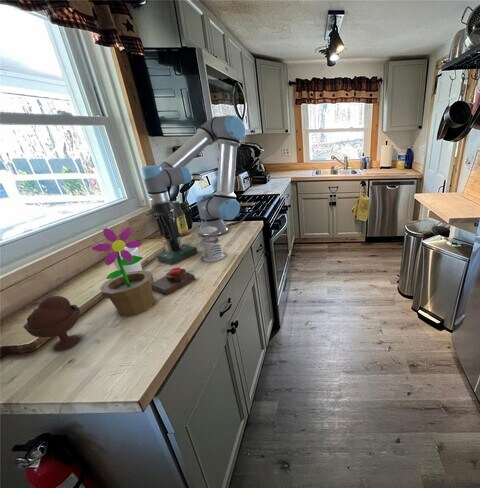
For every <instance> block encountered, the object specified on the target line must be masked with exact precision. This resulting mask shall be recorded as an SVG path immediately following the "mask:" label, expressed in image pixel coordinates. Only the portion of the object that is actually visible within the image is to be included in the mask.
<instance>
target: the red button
mask: <svg viewBox="0 0 480 488" xmlns="http://www.w3.org/2000/svg"><path fill="white" fill-rule="evenodd" d="M181 269H182V268H181V267H174V268H171V269H169V271H168V272H170V275H171V276H176V275H179V274H181V273H182V271H181Z"/></svg>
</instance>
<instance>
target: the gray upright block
mask: <svg viewBox="0 0 480 488" xmlns="http://www.w3.org/2000/svg"><path fill="white" fill-rule="evenodd" d="M177 240H178V243H179V247H180V250H182V246H181V245H182V242H181V239H180V237H178V238H177ZM162 242H163V245H164V248H165V251H166V252H167V254H169V255H170V254H173V253H175V252H174V250H173V247H172V243H171V240H170V238H168V239H165V238H164V239H163V240H162ZM180 250H179V251H180Z"/></svg>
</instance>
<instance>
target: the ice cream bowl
mask: <svg viewBox="0 0 480 488" xmlns="http://www.w3.org/2000/svg"><path fill="white" fill-rule="evenodd" d="M80 317H81V309H80V307H78V305H76V304H71V302H70V300H69V299H67V298H66V297H64V296H61V295H53V296H48V297H46V298H44V299H42V301H40V303H39V304H38V307H36V308H34V310H33V311H32V312H31V313H30V314H29V315H28V316H27V318H26V323H25V324H24V325H23V328H24V329H25V331H26V332H27V333H29V334H30V335H31V336H33V337H35V338H52V337H58V338H59V341H57V342H56V343H55V345H54V346H53V349H54V350H55V351H57V352H58V351H64V350H67V349H70V348H72V347H73V346H75V345H76V344H78V343H79V341H80V340H81V338H80V337H79V335H68V332H69V331H70V330H71V329H72V328H73V327H74V326H75V325H76V323H77V322H78V320H79V319H80Z"/></svg>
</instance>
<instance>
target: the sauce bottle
mask: <svg viewBox="0 0 480 488" xmlns="http://www.w3.org/2000/svg"><path fill="white" fill-rule="evenodd" d="M171 206H172V210H173V211H172V213H171V214H172V217H176V218H177V226H178V230H179V235H180V237H182V236H186V235H188V234H189V228H188V223H187V218H186V215H185V212H184V211H183V210H182V208H181V202H180V201H179V200H173V201H171Z"/></svg>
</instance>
